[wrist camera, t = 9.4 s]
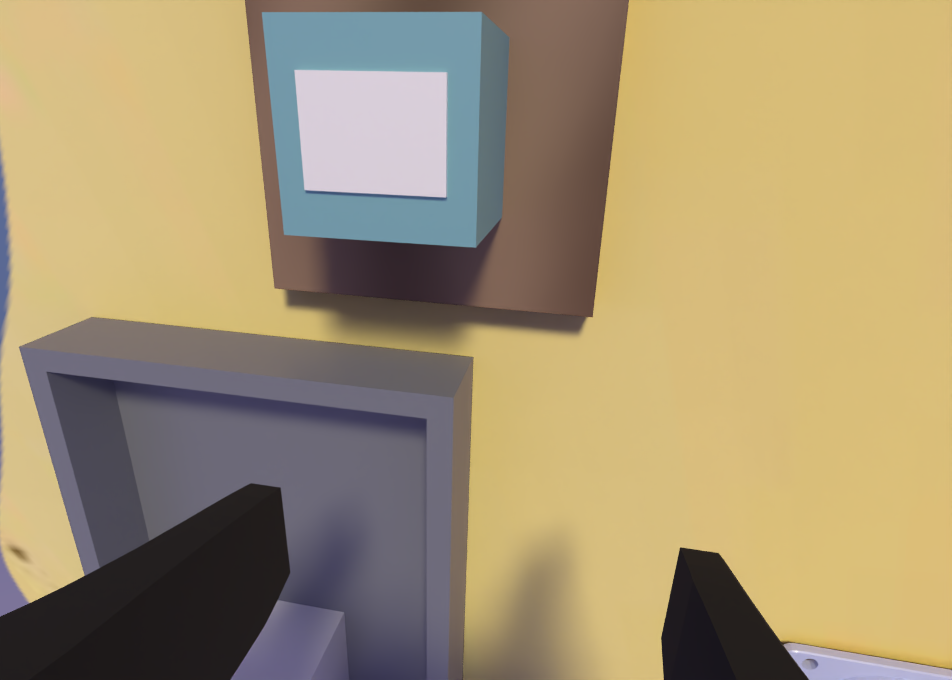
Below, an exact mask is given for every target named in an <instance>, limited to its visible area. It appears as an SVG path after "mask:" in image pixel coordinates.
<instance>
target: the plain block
mask: <svg viewBox="0 0 952 680" xmlns="http://www.w3.org/2000/svg"><path fill="white" fill-rule="evenodd" d="M231 680H349V672H348V658H347V644H346V630H345V616H344V612H340V611H334V610H329V609H323V608H318V607H312V606H307V605H302V604H296V603H291V602H285V601H280V600H278V601H277V603H276V605H275V607H274V609H273V611H272V613H271V615H270V617H269V618H268V620H267V622H266V624H265V626H264V628H263V629H262V631H261V633H260V634H259V636H258V637H257V639H256V641H255V642H254V644H253V645H252V647H251V648H250V650H249V652H248V653H247V655H246V656H245V658H244V659H243V661H242V663H241V664H240V666H239V667H238V669H237V670H236V672H235V674H234V675H233V677H232V678H231Z"/></svg>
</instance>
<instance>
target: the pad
mask: <svg viewBox="0 0 952 680" xmlns="http://www.w3.org/2000/svg"><path fill="white" fill-rule="evenodd" d="M628 3H629V0H245V5H246V15H247V25H248V35H249V44H250V54H251V64H252V73H253V83H254V93H255V103H256V112H257V122H258V132H259V141H260V151H261V161H262V171H263V180H264V190H265V200H266V209H267V219H268V229H269V239H270V248H271V258H272V268H273V277H274V287H275V288H277V289H288V290H299V291H310V292H321V293H332V294H343V295H354V296H365V297H376V298H387V299H398V300H409V301H420V302H431V303H442V304H453V305H464V306H476V307H487V308H498V309H509V310H520V311H531V312H542V313H553V314H564V315H575V316H586V317H593V308H594V299H595V291H596V282H597V273H598V264H599V256H600V247H601V238H602V230H603V221H604V212H605V203H606V195H607V186H608V177H609V169H610V160H611V151H612V142H613V134H614V125H615V116H616V108H617V99H618V90H619V81H620V73H621V64H622V55H623V47H624V38H625V29H626V20H627V12H628ZM262 12H482V13H484V14H485V15H486V16H487V17H488V18H489V19H490V20H491V21H492V22H493V23H494V24H495V25H497V26H498V27H499V28H500V29H501V30H502V31H503V32H504V33H505V34H506V35H507V36H508V37H509V38H510V39H509V63H508V87H507V111H506V135H505V159H504V184H503V208H502V218H501V219H500V220H499V221H498V223H497V224H496V225H495V226H494V227H493V228H492V230H491V231H490V232H489V233H488V234H487V235H486V237H485V238H484V239H483V240H482V241H481V242H480V243H479V245H478V246H477V247H476V248H474V247H459V246H443V245H428V244H413V243H398V242H383V241H368V240H353V239H338V238H323V237H308V236H293V235H284V229H283V219H282V209H281V199H280V189H279V179H278V169H277V159H276V149H275V139H274V129H273V119H272V109H271V99H270V89H269V79H268V69H267V59H266V49H265V39H264V29H263V19H262Z"/></svg>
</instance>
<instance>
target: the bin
mask: <svg viewBox="0 0 952 680" xmlns="http://www.w3.org/2000/svg"><path fill="white" fill-rule="evenodd" d="M19 348H20V352H21V355H22V359H23V362H24V366H25V369H26V373H27V376H28V380H29V383H30V387H31V390H32V394H33V397H34V401H35V404H36V408H37V411H38V415H39V418H40V421H41V425H42V428H43V432H44V435H45V439H46V442H47V446H48V449H49V453H50V456H51V460H52V463H53V467H54V470H55V474H56V477H57V481H58V484H59V488H60V491H61V494H62V498H63V501H64V505H65V508H66V512H67V515H68V519H69V522H70V526H71V529H72V533H73V536H74V540H75V543H76V547H77V550H78V554H79V557H80V561H81V564H82V567H83V571H84V574H85V576H86V575H87V574H89V573H91V572H93V571H95V570H97V569H99V568H101V567H102V566H104V565H106V564H108V563H110V562H112V561H114V560H116V559H117V558H119V557H121V556H123V555H125V554H127V553H129V552H130V551H132V550H134V549H136V548H138V547H140V546H141V545H143V544H145V543H147V542H148V541H150V540H152V539H154V538H155V537H157V536H159V535H160V534H162V533H164V532H166V531H167V530H169V529H171V528H173V527H174V526H176V525H178V524H180V523H181V522H183V521H185V520H186V519H188V518H190V517H192V516H193V515H195V514H197V513H198V512H200V511H202V510H204V509H205V508H207V507H209V506H210V505H212V504H214V503H216V502H217V501H219V500H221V499H223V498H224V497H226V496H228V495H230V494H231V493H233V492H235V491H237V490H239V489H241V488H243V487H244V486H246V485H248V484H250V483H254V484H260V485H267V486H274V487H280V488H281V494H282V503H283V512H284V520H285V529H286V538H287V547H288V555H289V564H290V575H289V577H288V579H287V581H286V583H285V586H284V588H283V590H282V592H281V594H280V596H279V598H278V600H280V601H285V602H291V603H296V604H302V605H307V606H312V607H318V608H323V609H329V610H334V611H340V612H344V616H345V630H346V644H347V658H348V672H349V680H463V652H464V622H465V592H466V562H467V532H468V502H469V472H470V442H471V412H472V382H473V357H467V356H458V355H448V354H439V353H429V352H419V351H410V350H400V349H391V348H381V347H372V346H362V345H353V344H343V343H334V342H324V341H315V340H305V339H296V338H286V337H277V336H267V335H257V334H248V333H238V332H229V331H219V330H210V329H200V328H191V327H181V326H172V325H162V324H153V323H143V322H134V321H124V320H114V319H105V318H95V317H91V318H89V319H86V320H84V321H81V322H79V323H76V324H74V325H71V326H69V327H67V328H64V329H62V330H59V331H57V332H54V333H52V334H49V335H47V336H44V337H42V338H40V339H37V340H35V341H32V342H30V343H27V344H25V345H22V346H20V347H19Z"/></svg>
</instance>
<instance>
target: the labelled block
mask: <svg viewBox="0 0 952 680" xmlns="http://www.w3.org/2000/svg"><path fill="white" fill-rule="evenodd" d="M262 19H263V29H264V39H265V49H266V59H267V69H268V79H269V89H270V99H271V109H272V119H273V129H274V139H275V149H276V159H277V169H278V179H279V189H280V199H281V209H282V219H283V229H284V235H293V236H308V237H323V238H338V239H353V240H368V241H383V242H398V243H413V244H428V245H443V246H459V247H474V248H476V247H477V246H478V245H479V243H480V242H481V241H482V240H483V239H484V238H485V237H486V235H487V234H488V233H489V232H490V231H491V230H492V228H493V227H494V226H495V225H496V224H497V223H498V221H499V220H500V219H501V218H502V208H503V184H504V159H505V135H506V111H507V87H508V63H509V39H510V38H509V37H508V36H507V35H506V34H505V33H504V32H503V31H502V30H501V29H500V28H499V27H498V26H497V25H495V24H494V23H493V22H492V21H491V20H490V19H489V18H488V17H487V16H486V15H485V14H484V13H482V12H262Z"/></svg>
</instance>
